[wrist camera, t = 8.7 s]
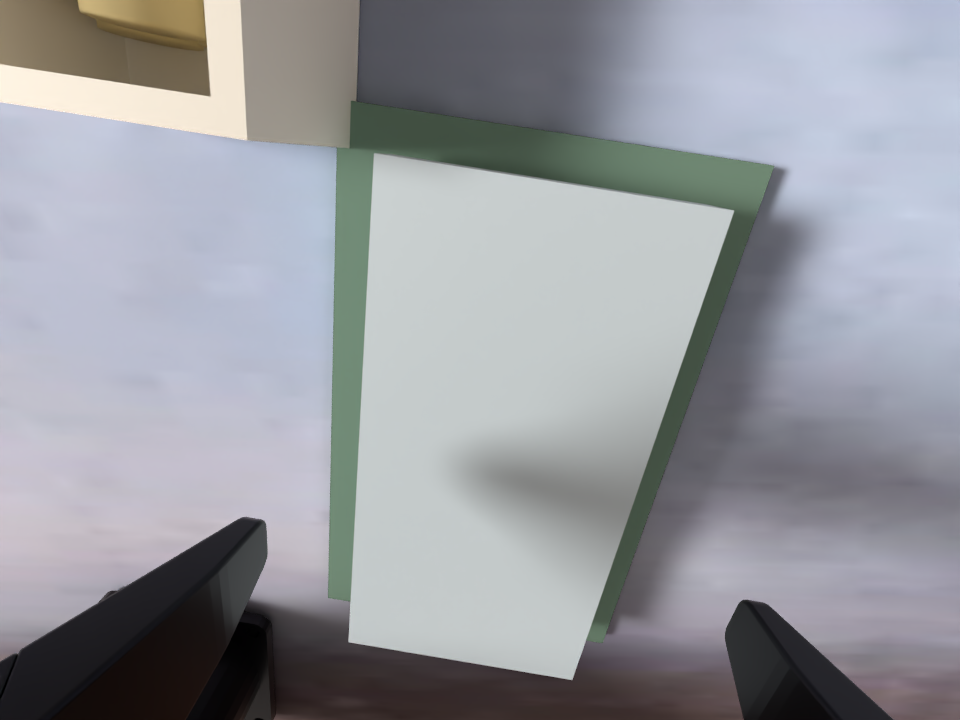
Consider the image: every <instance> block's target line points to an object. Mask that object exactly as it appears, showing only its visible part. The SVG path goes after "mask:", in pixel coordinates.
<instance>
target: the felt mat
mask: <svg viewBox="0 0 960 720" xmlns="http://www.w3.org/2000/svg"><path fill="white" fill-rule="evenodd" d="M374 153H381V154H394V155H400V156H406V157H413V158H419V159H425V160H432V161H438V162H444V163H450V164H457V165H463V166H469V167H475V168H482V169H488V170H494V171H500V172H507V173H513V174H519V175H525V176H532V177H538V178H544V179H550V180H557V181H563V182H569V183H576V184H582V185H588V186H594V187H601V188H607V189H613V190H619V191H626V192H632V193H638V194H644V195H651V196H657V197H663V198H669V199H676V200H682V201H688V202H694V203H701V204H707V205H712V206H716V207H720V208H725V209H729V210H734V213H733V216H732V219H731V222H730V225H729V228H728V231H727V234H726V236H725V239H724V242H723V245H722V248H721V251H720V254H719V257H718V260H717V263H716V265H715V268H714V271H713V274H712V277H711V280H710V283H709V286H708V289H707V291H706V294H705V297H704V300H703V303H702V306H701V309H700V312H699V315H698V318H697V320H696V323H695V326H694V329H693V332H692V335H691V338H690V341H689V344H688V346H687V349H686V352H685V355H684V358H683V361H682V364H681V367H680V370H679V373H678V375H677V378H676V381H675V384H674V387H673V390H672V393H671V396H670V399H669V401H668V404H667V407H666V410H665V413H664V416H663V419H662V422H661V425H660V427H659V430H658V433H657V436H656V439H655V442H654V445H653V448H652V451H651V454H650V456H649V459H648V462H647V465H646V468H645V471H644V474H643V477H642V480H641V482H640V485H639V488H638V491H637V494H636V497H635V500H634V503H633V506H632V509H631V511H630V514H629V517H628V520H627V523H626V526H625V529H624V532H623V535H622V537H621V540H620V543H619V546H618V549H617V552H616V555H615V558H614V561H613V564H612V566H611V569H610V572H609V575H608V578H607V581H606V584H605V587H604V590H603V592H602V595H601V598H600V601H599V604H598V607H597V610H596V613H595V616H594V618H593V621H592V624H591V627H590V630H589V633H588V636H587V639H586V641H592V642H598V643H603V640H604V638H605V635H606V632H607V629H608V626H609V624H610V621H611V618H612V615H613V613H614V610H615V607H616V604H617V601H618V599H619V596H620V593H621V590H622V588H623V585H624V582H625V579H626V576H627V574H628V571H629V568H630V565H631V563H632V560H633V557H634V554H635V551H636V549H637V546H638V543H639V540H640V538H641V535H642V532H643V529H644V527H645V524H646V521H647V518H648V515H649V513H650V510H651V507H652V504H653V502H654V499H655V496H656V493H657V490H658V488H659V485H660V482H661V479H662V477H663V474H664V471H665V468H666V465H667V463H668V460H669V457H670V454H671V452H672V449H673V446H674V443H675V440H676V438H677V435H678V432H679V429H680V427H681V424H682V421H683V418H684V416H685V413H686V410H687V407H688V404H689V402H690V399H691V396H692V393H693V391H694V388H695V385H696V382H697V379H698V377H699V374H700V371H701V368H702V366H703V363H704V360H705V357H706V354H707V352H708V349H709V346H710V343H711V341H712V338H713V335H714V332H715V329H716V327H717V324H718V321H719V318H720V316H721V313H722V310H723V307H724V304H725V302H726V299H727V296H728V293H729V291H730V288H731V285H732V282H733V280H734V277H735V274H736V271H737V268H738V266H739V263H740V260H741V257H742V255H743V252H744V249H745V246H746V243H747V241H748V238H749V235H750V232H751V230H752V227H753V224H754V221H755V218H756V216H757V213H758V210H759V207H760V205H761V202H762V199H763V196H764V193H765V191H766V188H767V185H768V182H769V180H770V177H771V174H772V171H773V168H774V166H772V165H766V164H759V163H753V162H746V161H740V160H733V159H727V158H720V157H714V156H707V155H701V154H694V153H688V152H681V151H675V150H668V149H662V148H655V147H649V146H642V145H636V144H629V143H623V142H616V141H610V140H603V139H597V138H590V137H584V136H577V135H571V134H564V133H558V132H551V131H545V130H538V129H532V128H525V127H519V126H512V125H506V124H499V123H493V122H486V121H480V120H473V119H467V118H460V117H454V116H447V115H441V114H434V113H428V112H421V111H414V110H408V109H401V108H395V107H388V106H382V105H375V104H369V103H362V102H356V101H351V114H350V148H338V147H337V171H336V222H335V273H334V324H333V375H332V426H331V478H330V529H329V580H328V598H332V599H338V600H344V601H350V602H351V583H352V564H353V545H354V526H355V507H356V488H357V468H358V449H359V430H360V411H361V392H362V373H363V354H364V335H365V315H366V296H367V277H368V258H369V239H370V220H371V201H372V182H373V162H374Z"/></svg>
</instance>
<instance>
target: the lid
mask: <svg viewBox="0 0 960 720" xmlns="http://www.w3.org/2000/svg"><path fill="white" fill-rule="evenodd" d="M733 213H734V210H729V209H725V208H720V207H716V206H712V205H707V204H701V203H694V202H688V201H682V200H676V199H669V198H663V197H657V196H651V195H644V194H638V193H632V192H626V191H619V190H613V189H607V188H601V187H594V186H588V185H582V184H576V183H569V182H563V181H557V180H550V179H544V178H538V177H532V176H525V175H519V174H513V173H507V172H500V171H494V170H488V169H482V168H475V167H469V166H463V165H457V164H450V163H444V162H438V161H432V160H425V159H419V158H413V157H406V156H400V155H394V154H381V153H374V162H373V182H372V201H371V220H370V239H369V258H368V277H367V296H366V315H365V335H364V354H363V373H362V392H361V411H360V430H359V449H358V468H357V488H356V507H355V526H354V545H353V564H352V583H351V602H350V621H349V641H348V642H350V643H356V644H362V645H368V646H374V647H380V648H386V649H391V650H397V651H403V652H409V653H415V654H421V655H427V656H433V657H439V658H445V659H451V660H456V661H462V662H468V663H474V664H480V665H486V666H492V667H498V668H504V669H510V670H516V671H521V672H527V673H533V674H539V675H545V676H551V677H557V678H563V679H569V680H572V679H573V676H574V673H575V671H576V668H577V665H578V662H579V659H580V656H581V653H582V650H583V647H584V645H585V642H586V639H587V636H588V633H589V630H590V627H591V624H592V621H593V618H594V616H595V613H596V610H597V607H598V604H599V601H600V598H601V595H602V592H603V590H604V587H605V584H606V581H607V578H608V575H609V572H610V569H611V566H612V564H613V561H614V558H615V555H616V552H617V549H618V546H619V543H620V540H621V537H622V535H623V532H624V529H625V526H626V523H627V520H628V517H629V514H630V511H631V509H632V506H633V503H634V500H635V497H636V494H637V491H638V488H639V485H640V482H641V480H642V477H643V474H644V471H645V468H646V465H647V462H648V459H649V456H650V454H651V451H652V448H653V445H654V442H655V439H656V436H657V433H658V430H659V427H660V425H661V422H662V419H663V416H664V413H665V410H666V407H667V404H668V401H669V399H670V396H671V393H672V390H673V387H674V384H675V381H676V378H677V375H678V373H679V370H680V367H681V364H682V361H683V358H684V355H685V352H686V349H687V346H688V344H689V341H690V338H691V335H692V332H693V329H694V326H695V323H696V320H697V318H698V315H699V312H700V309H701V306H702V303H703V300H704V297H705V294H706V291H707V289H708V286H709V283H710V280H711V277H712V274H713V271H714V268H715V265H716V263H717V260H718V257H719V254H720V251H721V248H722V245H723V242H724V239H725V236H726V234H727V231H728V228H729V225H730V222H731V219H732V216H733Z"/></svg>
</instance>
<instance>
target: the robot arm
mask: <svg viewBox="0 0 960 720" xmlns="http://www.w3.org/2000/svg"><path fill="white" fill-rule="evenodd" d="M266 559H267V531H266V523H265V522H264V521H263V520H261V519H255V518H249V517H242V518H240V519H238V520H236V521H234V522H233V523H231V524H229V525H228V526H226V527H224V528H223V529H221V530H219V531H218V532H216V533H214V534H213V535H211V536H209V537H208V538H206V539H204V540H203V541H201V542H199V543H198V544H196V545H194V546H193V547H191V548H189V549H188V550H186V551H184V552H183V553H181V554H179V555H178V556H176V557H174V558H173V559H171V560H169V561H168V562H166V563H164V564H162V565H161V566H159V567H157V568H156V569H154V570H152V571H151V572H149V573H147V574H146V575H144V576H142V577H141V578H139V579H137V580H136V581H134V582H132V583H131V584H129V585H127V586H126V587H124V588H122V589H121V590H119V591H110V592H108V593H107V594H106V595H105V596H104V597H103V598H102V599H101V600H100V601H99V602H98V603H97V604H96V605H94V606H92V607H91V608H89V609H87V610H86V611H84V612H82V613H81V614H79V615H77V616H76V617H74V618H72V619H71V620H69V621H67V622H66V623H64V624H62V625H61V626H59V627H57V628H56V629H54V630H52V631H51V632H49V633H47V634H46V635H44V636H42V637H41V638H39V639H37V640H35V641H34V642H32V643H30V644H29V645H27V646H25V647H24V648H22V649H21V650H20V651H19V653H18V654H17V653H14V654H12V655H10V656H8V657H7V658H5V659H3V660H2V661H0V720H274V717H275V715H276V706H275V686H274V665H273V644H272V625H271V622H270V621H269V620H268V619H267V618H266V617H264V616H262V615H259V614H253V613H247V612H244V609H245V607H246V605H247V603H248V601H249V598H250V596H251V594H252V592H253V590H254V587H255V585H256V583H257V581H258V579H259V576H260V574H261V572H262V570H263V568H264V565H265V562H266ZM725 641H726V646H727V651H728V655H729V659H730V663H731V668H732V672H733V676H734V680H735V684H736V689H737V693H738V697H739V701H740V706H741V710H742V714H743V718H744V720H893V719H892V718H891V717H890V716H889V715H888V714H887V713H886V712H885V711H883V710H882V709H881V708H880V707H879V706H878V705H877V704H876V703H875V702H874V701H873V700H871V699H870V698H869V697H868V696H867V695H866V694H865V693H864V692H863V691H862V690H861V689H859V688H858V687H857V686H856V685H855V684H854V683H853V682H852V681H851V680H850V679H849V678H847V677H846V676H845V675H844V674H843V673H842V672H841V671H840V670H839V669H838V668H837V667H835V666H834V665H833V664H832V663H831V662H830V661H829V660H828V659H827V658H826V657H825V656H824V655H822V654H821V653H820V652H819V651H818V650H817V649H816V648H815V647H814V646H813V645H812V644H810V643H809V642H808V641H807V640H806V639H805V638H804V637H803V636H802V635H801V634H800V633H798V632H797V631H796V630H795V629H794V628H793V627H792V626H791V625H790V624H789V623H788V622H786V621H785V620H784V619H783V618H782V617H781V616H780V615H779V614H778V613H777V612H776V611H774V610H773V609H772V608H771V607H770V606H769V605H767V604H765V603H763V602H757V601H751V600H742V601H741V602H740V603H739V604H738V606H737V608H736V610H735V612H734V614H733V616H732V618H731V620H730V622H729V624H728V626H727V628H726V632H725Z"/></svg>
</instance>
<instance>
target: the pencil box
mask: <svg viewBox="0 0 960 720" xmlns="http://www.w3.org/2000/svg"><path fill="white" fill-rule="evenodd" d="M359 9H360V0H0V102H3V103H9V104H16V105H22V106H29V107H35V108H41V109H48V110H54V111H61V112H67V113H74V114H80V115H87V116H93V117H100V118H106V119H112V120H119V121H125V122H132V123H138V124H145V125H151V126H158V127H164V128H171V129H177V130H183V131H190V132H196V133H203V134H209V135H216V136H222V137H229V138H235V139H241V140H249V141H261V142H274V143H287V144H300V145H313V146H325V147H338V148H350V114H351V101H356V99H357V69H358V39H359Z"/></svg>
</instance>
